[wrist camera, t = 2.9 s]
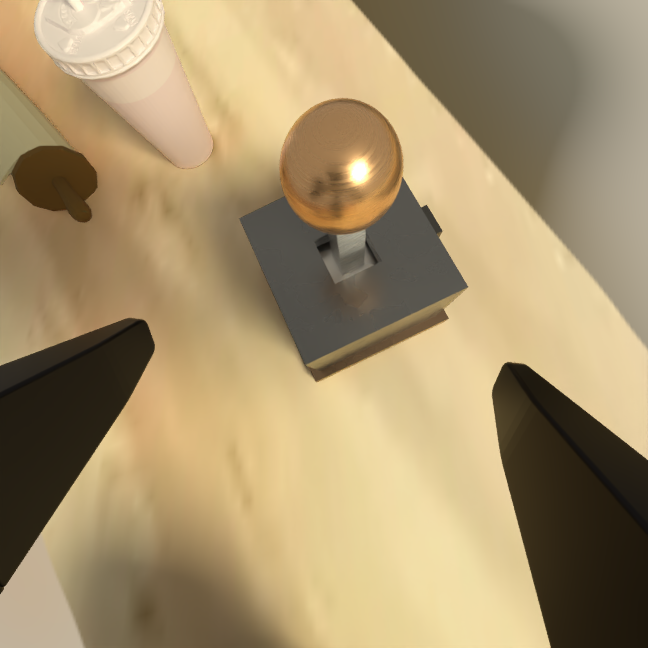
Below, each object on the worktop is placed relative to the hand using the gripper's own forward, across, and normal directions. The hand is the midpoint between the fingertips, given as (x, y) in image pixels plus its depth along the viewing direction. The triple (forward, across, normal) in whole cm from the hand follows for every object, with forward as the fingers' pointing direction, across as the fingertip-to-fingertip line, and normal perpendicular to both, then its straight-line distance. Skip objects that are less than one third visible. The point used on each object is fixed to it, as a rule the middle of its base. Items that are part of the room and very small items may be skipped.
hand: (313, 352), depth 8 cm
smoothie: (+21, +14, -2) cm, 25 cm away
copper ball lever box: (+13, 0, +6) cm, 14 cm away
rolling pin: (+22, +31, -3) cm, 39 cm away
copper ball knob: (+10, 0, +2) cm, 10 cm away
